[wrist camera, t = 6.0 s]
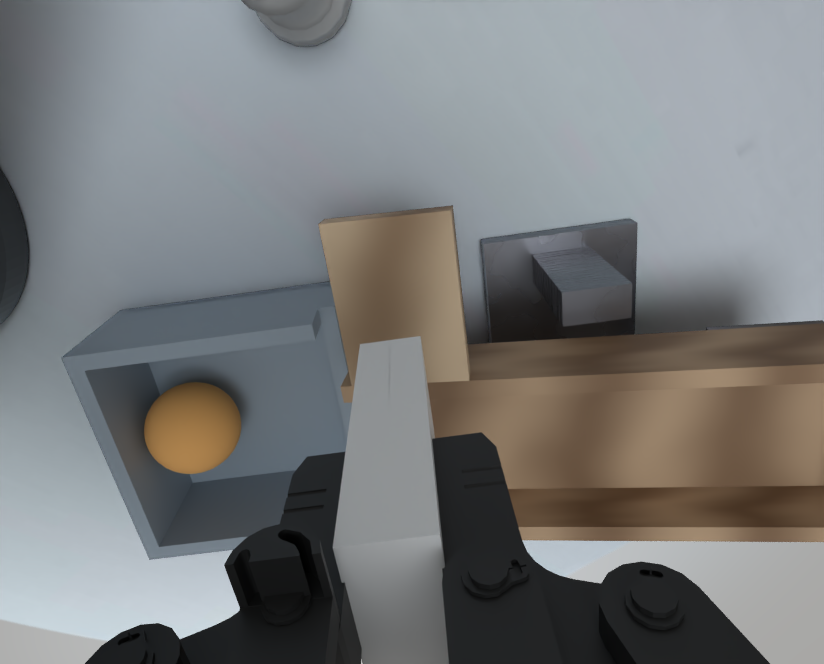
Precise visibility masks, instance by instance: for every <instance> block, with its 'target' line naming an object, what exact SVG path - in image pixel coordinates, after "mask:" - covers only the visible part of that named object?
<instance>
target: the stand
mask: <svg viewBox="0 0 824 664" xmlns="http://www.w3.org/2000/svg"><path fill="white" fill-rule="evenodd" d="M481 248H482V259H483V271H484V282H485V293H486V305H487V316H488V327H489V339H490V343H500V342H517V341H534V340H551V339H568V338H584V337H601V336H618V335H634V330H635V293H636V257H637V222H635V221H633V220H632V219H624V220H617V221H609V222H602V223H595V224H588V225H581V226H573V227H566V228H559V229H552V230H544V231H537V232H530V233H523V234H515V235H508V236H501V237H494V238H486V239H481Z"/></svg>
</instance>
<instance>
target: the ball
mask: <svg viewBox="0 0 824 664" xmlns="http://www.w3.org/2000/svg"><path fill="white" fill-rule="evenodd" d="M240 433H241V417H240V413H239V410H238V408H237V406H236V404H235V402H234V401H233V400H232V398H231V397H230V396H229V395H228V394H227V393H226V392H224V391H223V390H221V389H220V388H218V387H216V386H214V385H211V384H207V383H201V382H190V383H184V384H180V385H177V386H175V387H173V388H171V389H169V390H167V391H166V392H164V393H163V394H162V395H161V396H159V397H158V399H157V400H156V401H155V402H154V403H153V405H152V406H151V408H150V409H149V411H148V414H147V416H146V419H145V424H144V437H145V442H146V445H147V448H148V450H149V452H150V453H151V455H152V456H153V457H154V459H155V460H156V461H157V462H158V463H160V464H161V465H162V466H164V467H165V468H167V469H169V470H172V471H174V472H178V473H183V474H197V473H202V472H205V471H208V470H211V469H213V468H215V467H217V466H218V465H220V464H221V463H222V462H224V461H225V460H226V459H227V458H228V457H229V456H230V455H231V453H232V452H233V451H234V449H235V447H236V445H237V443H238V441H239V437H240Z"/></svg>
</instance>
